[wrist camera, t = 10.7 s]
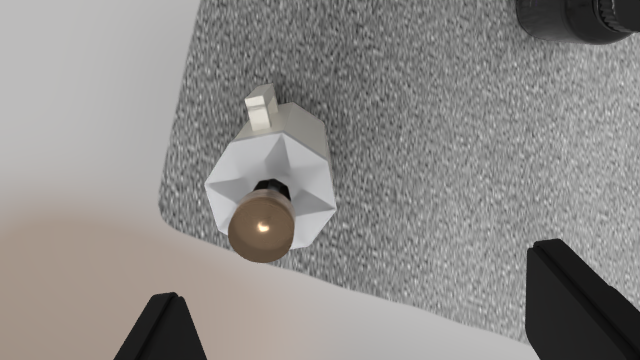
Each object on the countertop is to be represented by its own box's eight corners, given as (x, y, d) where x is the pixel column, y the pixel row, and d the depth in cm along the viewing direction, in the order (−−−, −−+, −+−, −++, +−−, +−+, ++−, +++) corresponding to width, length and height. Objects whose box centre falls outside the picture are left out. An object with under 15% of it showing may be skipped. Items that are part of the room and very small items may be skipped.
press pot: (223, 89, 40) (182, 116, 28) (315, 71, 39) (313, 91, 27) (252, 196, 44) (227, 259, 32) (336, 181, 43) (342, 240, 31)
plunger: (259, 136, 40) (220, 210, 24) (299, 128, 40) (285, 199, 24) (269, 173, 42) (237, 267, 26) (307, 166, 42) (299, 257, 25)
